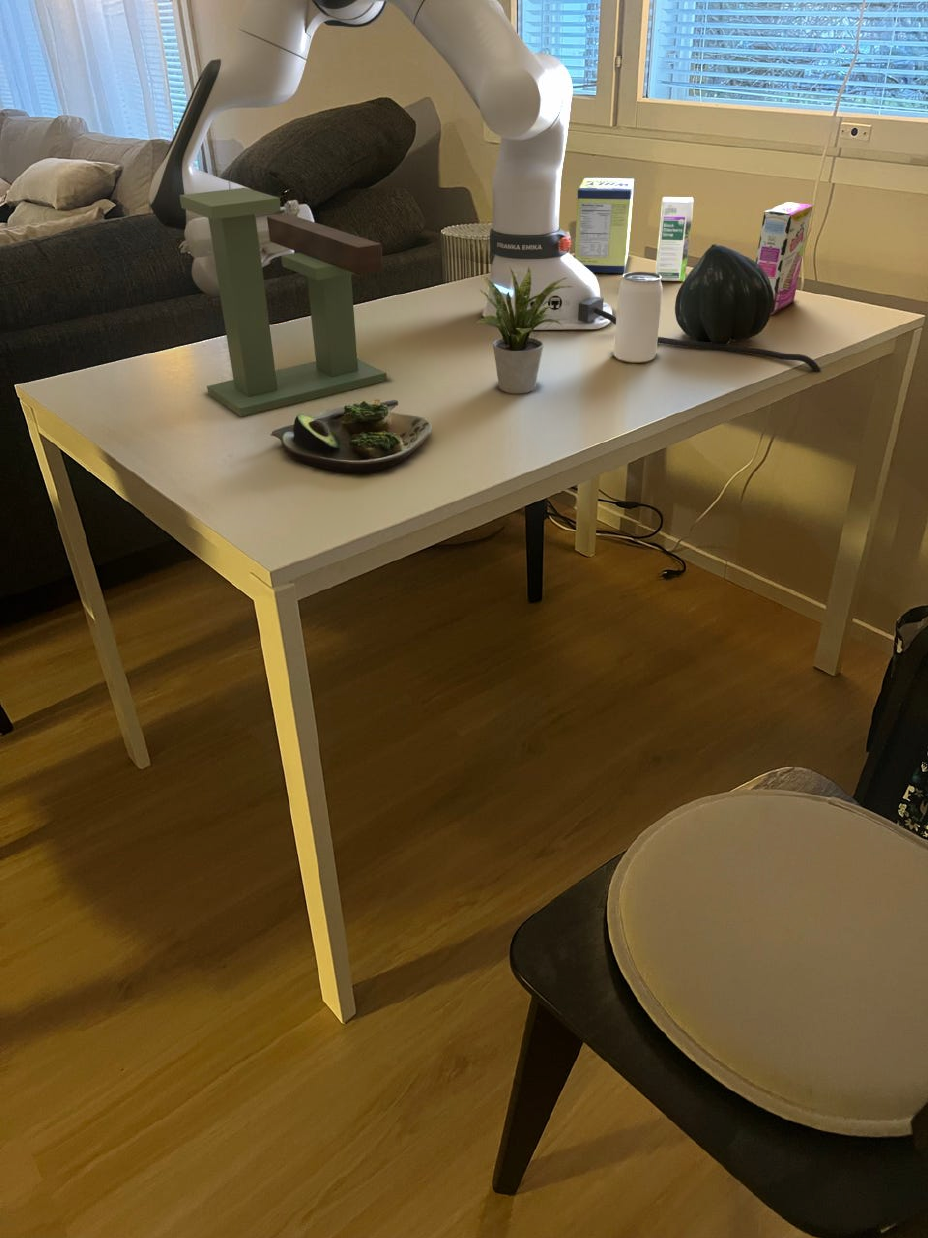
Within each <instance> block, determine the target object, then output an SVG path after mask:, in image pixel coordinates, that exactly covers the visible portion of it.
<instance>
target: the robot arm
mask: <svg viewBox="0 0 928 1238" xmlns="http://www.w3.org/2000/svg"><path fill="white" fill-rule="evenodd" d="M388 3H389V4H391V5H393V6H395V7H396V8H397V9H398V10H399V11H400V12H401V13H402V14H403V15H404V16H405V17H406V18H407V20H408V21H409V22H410V23H411V24H412V25H413V26H414V27H415V29H416V30H417V31H418V32H419V33H420V34H421V35H422V36H423V37H424V38H425V40H426V41H427V42H428V43H429V44H430V45H431V46H432V47H433V48H434V50H435V51H436V52H437V53H438V54H439V56H441V58H442V59H443V60H444V61H445V62H446V63H447V64H448V66H449V67H450V68H451V69H452V71H453V72H454V74H455V76H456V77H457V78H458V80H459V81H460V83H461V84H462V86H463V88H464V89H465V91H466V93H467V94H468V95H469V97H470V99H471V100H472V102H473V103H474V104H475V106H476V107H477V109H478V110H479V111H480V115H481V117H482V119H483V121H484V123H485V125H486V127H488V129H489V130H490V131H491V132H492V133H494V134H495V135H497V136H499V137H500V140H499V146H498V153H497V159H496V163H495V168H494V171H493V176H492V228H491V229H490V230H489V237H488V259H489V263H490V275H489V280H490V281H491V282H492V283H493V284H494V285H495V286H496V287H497V288H498V289H499V291H500V293H501V294H502V297H503V299H504V301H505V303H506V305H507V301H506V295H507V293H508V292H509V293H510V297H511V304H512V308H513V312H514V318H515V291H514V283H513V278H512V273H511V270H512V271H513V272H514V275H515V278H516V281H517V283H518V286H519V288H520V286H521V283H522V281H523V278H524V277H525V276H526V275H527V271H528V268H529V269H530V272H531V290H530V295H529V299H530V298H532V297H534V296H536V295H538V294H541V293H542V291H543V290H544V289H545V288H547V287H548V286H549V285H550V284H552V283H553V282H555V281H557V280H560V279H563V278H566V277H567V278H566V279H564V280H562V281H560V282H559V283H557V284H556V285H555V286H554V287H557V286H560V287H561V286H571V287H569V288H560V289H557V290H555V291H553V292H551V293H550V294H549V295H548V296H547V297H546V299H545V300H544V301H543V303H542V305H543V304H544V303H545V302H546V301H548V300H550V299H559V300H551V301H549V302H547V303H545V304H544V305H543V306H542V305H541V306H542V307H541V306H540V308H539V309H540V311H541V310H542V309H543V308H545V307H547V306H551V305H554V306H552V307H549V308H548V309H547V310H546V311H545V312H544V314H547V315H548V316H546V317H545V318H543V319H542V320H545V319H554V320H557V319H566V320H557V321H558V322H560V323H561V324H562V325H560V324H559V323H556V322H552V323H551V322H544V323H541V324H539V325H538V326H537V327H535V328H534V329H533V330H532V331H538V330H539V331H544V330H545V331H547V330H551V331H552V330H553V331H554V330H598V329H601V328H605V327H606V326H608V325H609V324H610V322H611V323H613V325H615V326H616V316H614V315H613V308H612V307H611V306H610V304H608V303H606V302H605V301H604V299H605V298H604V297H601V289H600V285H599V281H598V278H597V276H596V275H595V273H594V272H591V271H589V270H588V269H587V268H586V267H585V266H584V265H582V264H581V263H580V262H579V261H578V260H577V259H576V258H575V256H573V255H572V254H571V253H570V250H571V246H572V240H571V234H570V232H569V231H567V232H566V231H565V230H563V229H562V228H560V227H559V225H560V209H561V208H560V205H561V186H562V185H561V183H562V173H563V165H564V159H565V152H566V145H567V140H568V132H569V131H568V130H569V126H570V125H569V123H570V116H571V106H572V99H573V94H574V87H573V80H572V76H571V75H570V73H569V70H568V69H567V67H566V66H565V65H564V64H563V62H561V61H560V59H558V58H557V57H556V56H554V55H551V54H549V53H546V52H545V53H544V52H536V53H535V52H533V51H532V50H531V49H530V48H529V46H527V45H526V43H525V42H524V41H523V39H522V38H521V36H520V35H519V33H518V31H517V30H516V29H515V27H514V26H513V24H512V23H511V21H510V20H509V18H508V16H507V15H506V13H505V10H504V8H503V6H502V4H501V3H500V2H499V1H498V0H245V3H244V5H243V10H242V13H241V15H240V19H239V23H238V27H237V31H236V34H235V38H234V40H233V43H232V44H231V46H230V48H229V49H228V50H227V52H226V53H225V54H224V55H223V56H221V58H216V59H211V60H210V61H208V63H206V66H205V67H204V68H203V70H202V72H201V74H200V75H199V78H198V80H197V82H196V84H195V86H194V87H193V90H192V93H191V95H190V97H189V99H188V101H187V103H186V106H185V109H184V110H183V114H182V116H181V118H180V121H179V123H178V126H177V128H176V130H175V132H174V135H173V137H172V139H171V142H170V145H169V146H168V149H167V151H166V153H165V156H164V158H163V159H162V161H161V164H160V166H159V167H158V168H157V171H156V172H155V174H154V176H153V178H152V181H151V183H150V185H149V186H150V187H149V194H148V199H149V201H148V205H149V207H150V209H151V211H152V212H153V214H154V215H155V217H156V218H157V220H158V221H159V222H160V223H161V224H162V226H164V227H166V228H167V227H168V228H171V229H175V230H180V231H184V233H183V236H184V239H185V240H184V241H181V243H180V245H179V246H178V251H179V252H180V253H181V254H185V253H186V255H190V256H191V257H192V258H193V261H192V265H191V278H192V280H193V282H194V284H195V286H196V287H197V288H198V289H199V290H200V291H202V292H203V293H204V294H206V295H208V296H211V297H215V298H221V297H220V290H219V284H218V277H217V271H216V265H215V258H214V252H213V245H212V239H211V232H210V226H209V220H208V218H207V217H205V216H202V215H199V214H197V213H194V212H191V211H188V210H186V209H183V208H181V202H180V196H179V195H186V194H194V193H203V192H211V191H220V190H228V189H236V188H248V189H251V190H253V189H252V188H249V187H247V186H244V185H242V184H239V183H237V182H233V181H231V180H227V179H224V178H222V177H219V176H216V175H213V174H211V173H207V172H205V171H202V170H199V169H198V168H197V167H196V166H195V164H194V163H195V162H196V160H197V157H198V154H199V152H200V150H201V147H202V145H203V142H204V141H205V138H206V136H207V134H208V131H209V130H210V127H211V124H212V122H213V121H214V119H215V118H216V117H217V116H218V115H219V114H221V113H222V112H224V111H228V110H231V109H243V108H245V109H247V108H251V109H252V108H254V109H255V108H257V109H259V108H260V109H263V108H271V107H276V106H278V105H281V104H283V103H285V102H287V101H288V100H290V98H292V97H293V96H294V94H295V93H296V92H297V90H298V87H299V85H300V83H301V80H302V78H303V75H304V71H305V67H306V65H307V59H308V57H309V51H310V48H311V44H312V41H313V38H314V35H315V33H316V31H317V29H318V27H319V26H321V25H322V24H325V25H326V26H329V27H346V28H363V27H367V26H369V25H371V24H373V23H375V22H377V20H378V19H379V18H380V17H381V16H382V15H383V13H384V12H385V9H386V8H387V5H388ZM280 208H281V211H275V212H268V213H260V214H255V216H256V224H257V232H258V240H259V248H260V255H261V263H262V268H265V267H266V266H268V265H270V264H273V263H277V262H279V261H282V258H281V255H286V254H292V253H295V251H294V250H291V249H289V248H286V247H283V246H281V245H278V244H276V243H273V242H270V239H269V230H268V222H267V217H268V216H275V215H282V214H290V215H293V216H296V217H299V218H302V219H305V220H309V221H312V222H315V219H314V215H313V212H312V209H311V208H310V207H309V205H308V204H306V203H302V204H299V202H298V200H297V199H292V200H287V201H286V202H285V203H284V205H283V206H280ZM510 268H511V270H510ZM486 294H487V295H488V296H489V297H490V298H491V299H492V300H493V301H494V302H495V303H496V300H495V298H494V295H493V293H492V291H491V289H490V287H489V286H488V289H487V293H486ZM536 299H537V298H535V299H534V300H532V301H530V302H529V303H528V306H527V310H528V309H531V307H532V305H533V304H534V302H535V300H536ZM496 304H497V303H496ZM507 309H508V305H507ZM496 311H497V309H496V308H495V306H494V305H493V304H492V303H491V302H490V301H489V299H488V298H487V297H486V299H485V304H484V308H483V311H482V316H483V318H486V316H495V317H497V316H496ZM508 312H509V309H508ZM537 313H538V312H537ZM509 315H510V314H509ZM549 315H550V316H549ZM531 317H532V316H531ZM530 319H531V318H530ZM542 320H540V321H542ZM502 321H503V320H502ZM529 321H530V320H529ZM503 323H504V322H503ZM528 323H529V322H528ZM550 323H551V324H550ZM504 325H505V324H504ZM527 325H528V324H527ZM546 326H547V327H546ZM545 327H546V328H545ZM544 328H545V329H544ZM657 344H663V345H668V346H675V347H676V346H677V347H683V348H694V349H695V348H698V349H710V350H711V349H712V350H721V351H727V352H736V353H742V354H750V355H756V356H761V357H767V358H772V359H776V360H782V361H798V362H803V363H804V364H806V365H808V366H809V367H810V368H811V370H812V372H814V373H815V372H816V373H822V370H821V367H819V365H818V364H817V363H816V361H815V360H814V359H812V358H811V357H810V356H808V355H805V354H802V353H788V352H787V353H786V352H785V353H784V352H779V351H774V350H769V349H763V348H758V347H751V346H744V345H737V344H731V343H727V344H723V343H713V342H700V341H695V340H685V339H676V338H670V337H663V336H658V341H657Z"/></svg>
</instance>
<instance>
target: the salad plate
mask: <svg viewBox="0 0 928 1238" xmlns="http://www.w3.org/2000/svg"><path fill="white" fill-rule="evenodd" d="M399 405H400V404H399V400H396V399H392V400H386V401H382V402H380V399H375V400H374V403H373V404H371V403H368V402H367V401H366V400H362V402H361V403H353V404H352V405H350V404H348V405H344V406H342V407H341V406H340V407H334V408H330V409H327V410H325V411H322V412H321V413H318V414H317V415H315V416H314V417H313V416H310V415H308V414H304V413H300V414H297V415H296V416H295V418H294V421H293V424H290V425H287V426H283V427H281V428H277V429H275V430H272V432H271V433H270V436H273V437H275V438H277V439H278V440H280V442H281V444H282V446H283V447H284V449H285V451H287V452H288V454H289V455H290V456H291V457H292V458H293V459H294V460H295V461H297V462H299V463H300V464H304V465H308V466H311V467H314V468H318V469H321V470H325V471H330V472H335V473H342V474H373V473H377V472H381V471H384V470H387V469H389V468H391V467H393V466H395V465H396V464H399V463H400V462H402V461H404V460H405V459H407V458H408V457H409V455H410V454H411V453H413V451H415V450H416V449H418V448H419V447H421V445H422V444H423V443H424V442H425V441H426V439H427V438H428V437H429V436H430V435H431V434H433V433H432V432H433V425H432V423H430V422H429V420H428V419H426V418H425V417H421V416H418V415H411V414H403V413H396V412H392V411H393V410H394V409H395V408H397V407H398V406H399Z"/></svg>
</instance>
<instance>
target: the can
mask: <svg viewBox="0 0 928 1238" xmlns="http://www.w3.org/2000/svg"><path fill="white" fill-rule="evenodd" d="M660 279H661V276H660V275H658V274H656V273H655V272H652V271H630V272H626V273H624V274H622V280H621V281H620V283H619V285H618V292H617V293H618V294H617V304H616V316H615V317H616V325H615V328H614V329H615V330H614V340H613V342H614V343H613V356H614V357H615V359H617V360H618V361H621V362H623V363H631V364H644V363H648V362H651V361H653V360H654V358H656V356H657V348H658V343H657V341H658V337H659V332H660V320H661V312H662V301H663V292H664V291H663V290H664V289H663V284H662V281H661V280H660Z"/></svg>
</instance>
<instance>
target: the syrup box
mask: <svg viewBox="0 0 928 1238" xmlns="http://www.w3.org/2000/svg"><path fill="white" fill-rule="evenodd" d="M694 204H695V203H694V198H693V197H692V196H691V197H690V196H689V197H681V196H680V197H679V196H678V197H677V196H676V197H675V196H663V197H662V200H661V208H660V209H661V210H660V218H659V219H660V220H659V230H658V231H659V232H658V240H657V251H656V262H655V271H654V273H656V274H658V275H660V276H661V279H660V281H661V282H663V281H664V282H684V281H685V279H686V275H687V266H688V265H687V264H688V258H689V257H688V256H689V249H690V247H689V246H690V240H691V239H690V238H691V229H692V221H693V214H694V213H693V212H694Z"/></svg>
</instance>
